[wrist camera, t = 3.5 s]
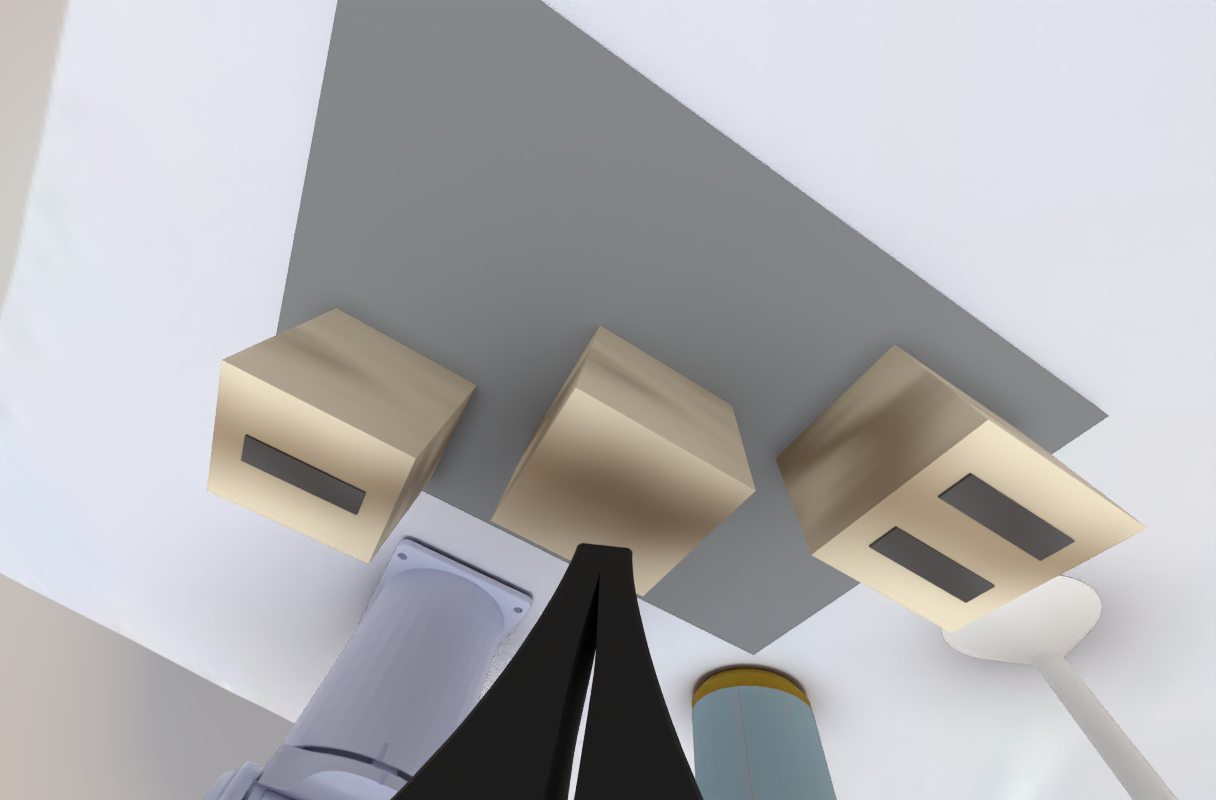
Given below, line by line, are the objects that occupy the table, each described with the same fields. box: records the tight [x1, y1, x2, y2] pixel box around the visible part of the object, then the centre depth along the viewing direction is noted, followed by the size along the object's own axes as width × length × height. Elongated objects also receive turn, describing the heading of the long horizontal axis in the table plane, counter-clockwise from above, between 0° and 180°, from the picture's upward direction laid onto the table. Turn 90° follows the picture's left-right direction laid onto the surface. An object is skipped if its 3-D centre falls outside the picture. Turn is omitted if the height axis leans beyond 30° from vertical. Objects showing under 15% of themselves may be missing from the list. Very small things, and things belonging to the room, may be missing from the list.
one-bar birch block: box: [207, 308, 476, 564], centre depth 16 cm, size 6×6×5 cm
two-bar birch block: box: [775, 344, 1147, 633], centre depth 15 cm, size 6×6×5 cm
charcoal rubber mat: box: [276, 0, 1109, 655], centre depth 18 cm, size 19×28×1 cm
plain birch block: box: [491, 325, 756, 596], centre depth 16 cm, size 6×6×5 cm
